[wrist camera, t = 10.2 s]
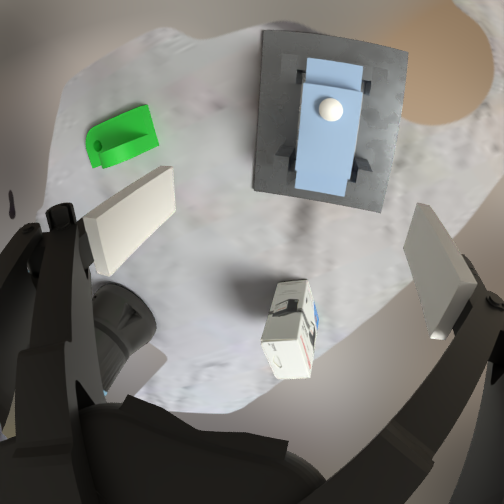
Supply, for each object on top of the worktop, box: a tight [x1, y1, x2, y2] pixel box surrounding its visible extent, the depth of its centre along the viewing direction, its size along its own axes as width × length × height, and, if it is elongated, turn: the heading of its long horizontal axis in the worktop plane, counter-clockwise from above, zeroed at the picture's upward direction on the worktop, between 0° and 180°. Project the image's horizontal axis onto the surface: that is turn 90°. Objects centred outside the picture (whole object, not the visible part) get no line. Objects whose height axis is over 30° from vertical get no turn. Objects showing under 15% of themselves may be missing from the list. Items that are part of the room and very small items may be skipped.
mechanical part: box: [86, 105, 159, 169], centre depth 35 cm, size 12×6×8 cm, turn 103°
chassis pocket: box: [254, 30, 408, 213], centre depth 28 cm, size 16×20×6 cm
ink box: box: [261, 280, 319, 379], centre depth 41 cm, size 8×5×12 cm, turn 19°
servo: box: [295, 58, 363, 197], centre depth 26 cm, size 5×13×9 cm, turn 177°
